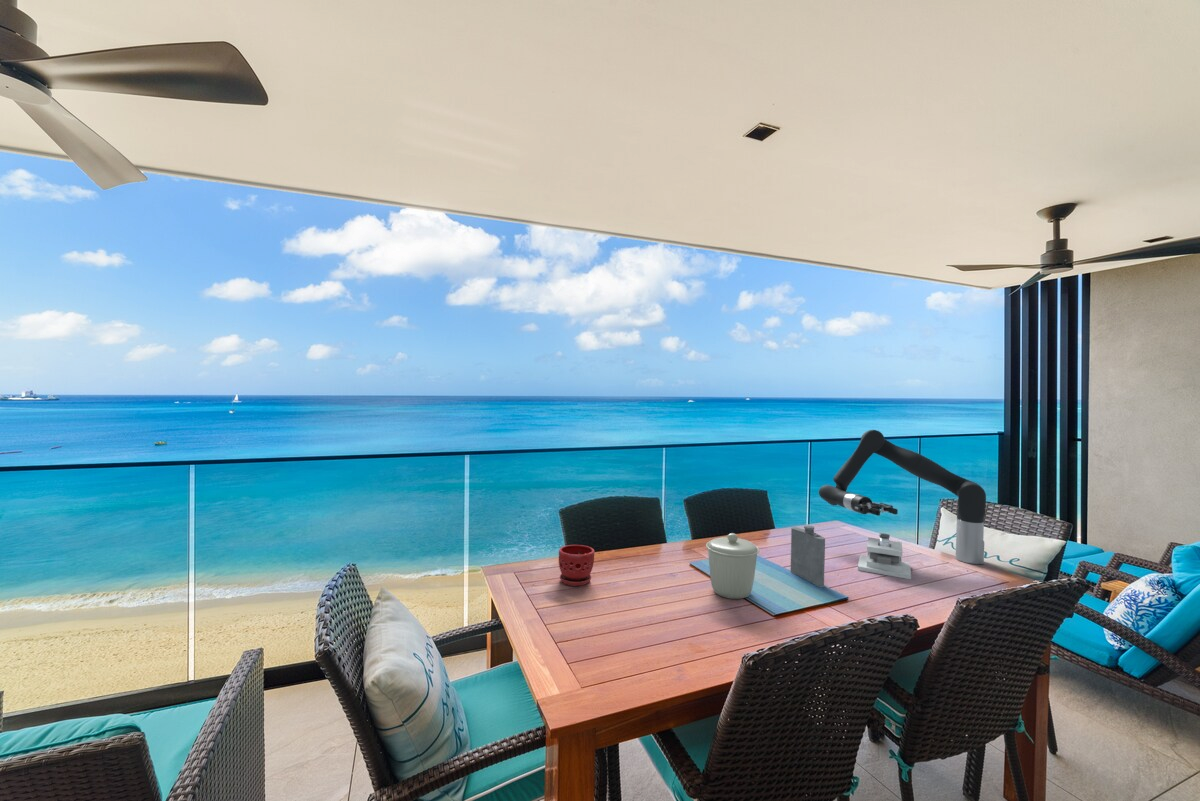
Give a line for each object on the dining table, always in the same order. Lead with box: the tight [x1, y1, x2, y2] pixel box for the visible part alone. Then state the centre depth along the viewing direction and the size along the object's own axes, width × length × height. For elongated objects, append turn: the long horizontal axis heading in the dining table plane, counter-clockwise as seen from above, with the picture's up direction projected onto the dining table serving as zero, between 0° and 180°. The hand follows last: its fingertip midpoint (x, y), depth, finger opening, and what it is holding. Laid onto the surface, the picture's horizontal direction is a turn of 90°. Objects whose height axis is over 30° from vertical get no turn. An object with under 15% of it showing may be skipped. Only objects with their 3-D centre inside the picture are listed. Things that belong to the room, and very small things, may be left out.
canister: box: [705, 532, 760, 600], centre depth 172 cm, size 18×18×21 cm
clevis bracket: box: [857, 537, 912, 580], centre depth 198 cm, size 18×17×10 cm
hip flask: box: [789, 524, 826, 588], centre depth 187 cm, size 16×4×20 cm, turn 20°
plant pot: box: [558, 544, 595, 587], centre depth 182 cm, size 13×13×12 cm
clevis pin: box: [878, 533, 891, 547], centre depth 199 cm, size 4×4×12 cm
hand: (888, 512), depth 197 cm, fingers open, 8 cm apart
